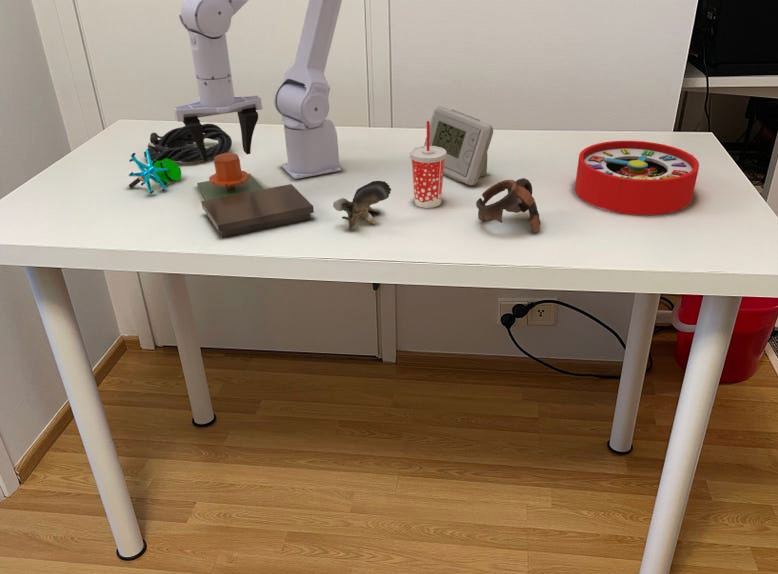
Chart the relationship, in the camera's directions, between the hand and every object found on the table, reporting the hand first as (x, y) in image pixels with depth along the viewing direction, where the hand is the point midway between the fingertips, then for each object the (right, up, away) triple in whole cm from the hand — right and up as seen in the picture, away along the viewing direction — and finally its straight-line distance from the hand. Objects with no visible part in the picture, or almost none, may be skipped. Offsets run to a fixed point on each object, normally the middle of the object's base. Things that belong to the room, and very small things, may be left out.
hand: (225, 156), depth 130 cm
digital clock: (+41, -1, +10) cm, 42 cm away
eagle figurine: (+25, -13, -8) cm, 29 cm away
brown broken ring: (+49, -14, -9) cm, 51 cm away
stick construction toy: (-15, -4, +7) cm, 17 cm away
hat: (0, -3, +2) cm, 4 cm away
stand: (+7, -12, -5) cm, 15 cm away
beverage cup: (+35, -9, -1) cm, 37 cm away
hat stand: (0, -5, +4) cm, 7 cm away
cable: (-12, +6, +21) cm, 25 cm away
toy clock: (+72, -6, +1) cm, 72 cm away
